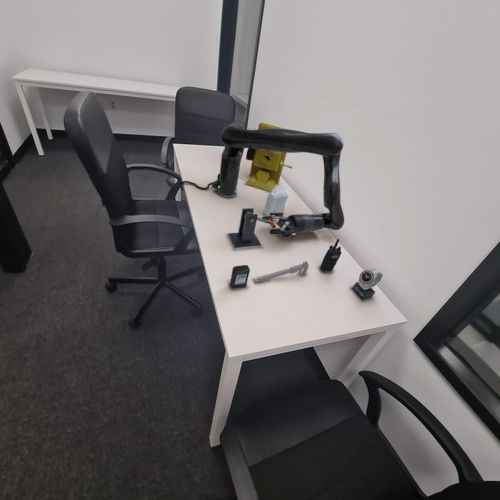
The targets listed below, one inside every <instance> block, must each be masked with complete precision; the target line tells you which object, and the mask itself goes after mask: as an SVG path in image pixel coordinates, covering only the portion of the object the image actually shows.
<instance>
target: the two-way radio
mask: <svg viewBox="0 0 500 500" xmlns="http://www.w3.org/2000/svg"><path fill="white" fill-rule="evenodd" d="M339 242H340V239H339V238H337V239H336V241H335V243H334V245H330V246H329V247H328V249H327V251H326V252H325V254H324V256H323V259H322V262H321V264H320V267H319V269H320V271H321V272H323V273H329V272H330V273H331V272H333V270H334V268H335V266H336V265H337V263H338V261H339V260H340V257H341V255H342V251H341V250H342V247H341V246H338V245H339Z"/></svg>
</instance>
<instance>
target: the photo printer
mask: <svg viewBox="0 0 500 500" xmlns="http://www.w3.org/2000/svg"><path fill="white" fill-rule="evenodd" d="M288 198H289V193H288V191H287V190H284V189H277V190H272V191H271V192H269V193H268V195H267V198H266V202H265V205H264V210H263V213H264V215H265V216H269V215H270V213H283V214H284V210H285V207H286V204H287V200H288Z"/></svg>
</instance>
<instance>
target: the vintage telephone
mask: <svg viewBox="0 0 500 500" xmlns="http://www.w3.org/2000/svg"><path fill="white" fill-rule="evenodd" d="M268 128H281V129H285V128H284V127H280V126H277V125H273V124H268V123H265V122H260V123H258V128H257V130H259V129H268ZM286 157H287V153H283V152H274V151H267V150H260V149H254V148H247V150H246V155H245V160H247V161H248V162H249V161H250V162H251V165H250V171H249V178H248V180H246V179H244V178H242V177H240V176H238V179H241V180H244V181H246V182H245V185H246V186H250V187H252V188H256V189H259V190H262V191H266V192H269V193H271V192H273V190H274V188H275V186H276V185H279V184H280V180H281V175H282V173H283V168H284V167H286V168H288V169H292V168H293V165H289V164H286V163H285V160H286Z"/></svg>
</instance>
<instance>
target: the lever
mask: <svg viewBox="0 0 500 500" xmlns="http://www.w3.org/2000/svg"><path fill="white" fill-rule="evenodd" d="M246 214H254V212H253V213H252V212H249V211H247V212H246V213H245V215H244V217H246ZM272 220H273V219H272ZM272 220H271V219H270V218H269V219H268V220H266V219H263V218H262V217H259V216H258V218H257V221H258V222H261V223H265V224H267V225H270V226H271V229H276V227H277V225H276V224H274V222H273V221H272Z"/></svg>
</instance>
